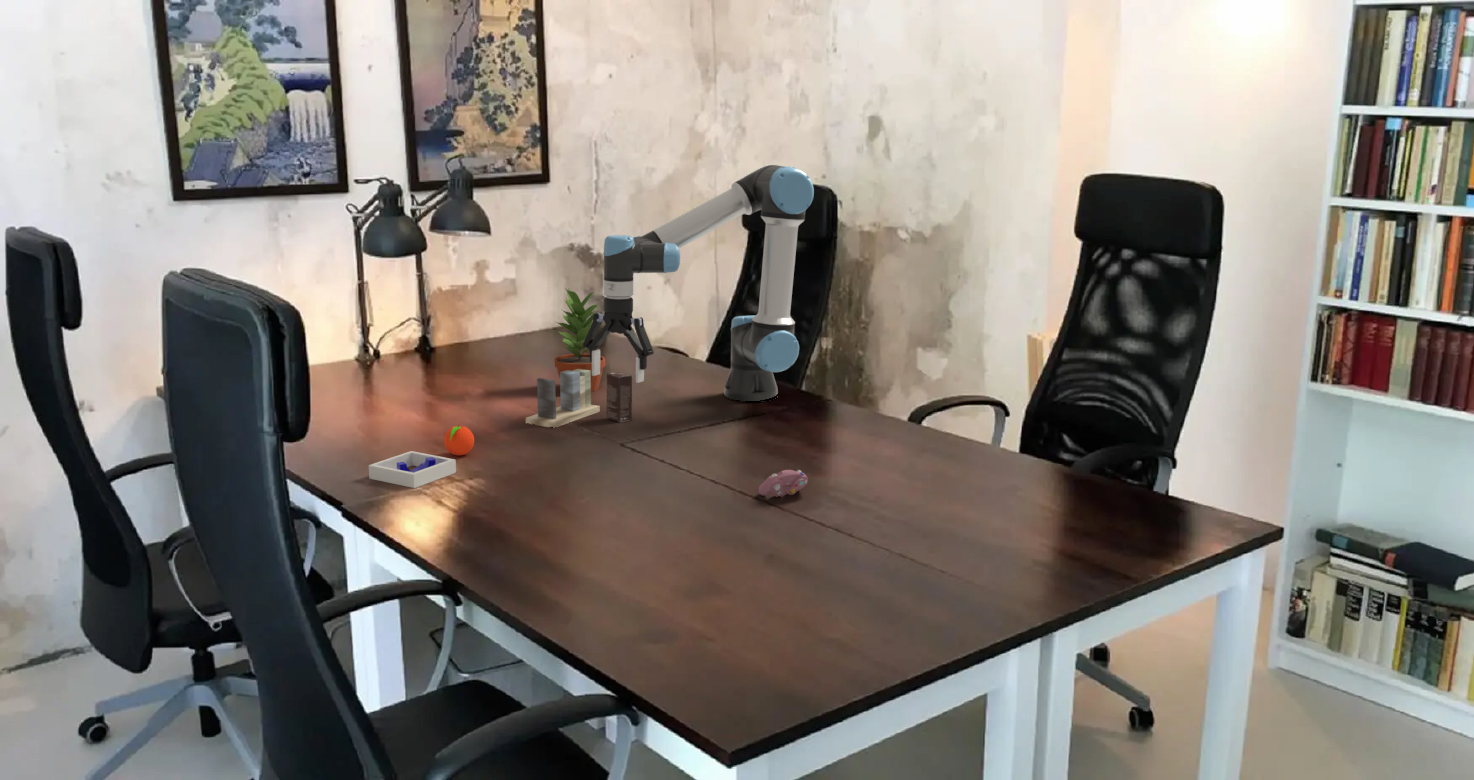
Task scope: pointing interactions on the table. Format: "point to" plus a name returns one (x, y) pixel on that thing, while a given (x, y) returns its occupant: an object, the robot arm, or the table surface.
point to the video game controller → (784, 483)
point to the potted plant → (578, 338)
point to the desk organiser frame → (391, 474)
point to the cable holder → (428, 463)
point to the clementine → (459, 440)
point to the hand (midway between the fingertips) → (617, 378)
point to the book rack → (564, 399)
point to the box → (619, 397)
